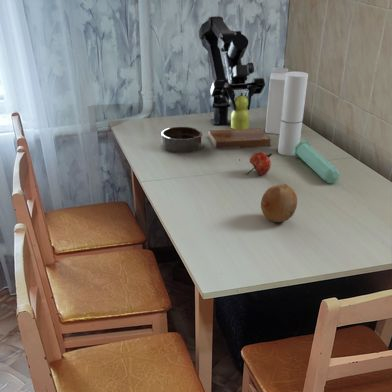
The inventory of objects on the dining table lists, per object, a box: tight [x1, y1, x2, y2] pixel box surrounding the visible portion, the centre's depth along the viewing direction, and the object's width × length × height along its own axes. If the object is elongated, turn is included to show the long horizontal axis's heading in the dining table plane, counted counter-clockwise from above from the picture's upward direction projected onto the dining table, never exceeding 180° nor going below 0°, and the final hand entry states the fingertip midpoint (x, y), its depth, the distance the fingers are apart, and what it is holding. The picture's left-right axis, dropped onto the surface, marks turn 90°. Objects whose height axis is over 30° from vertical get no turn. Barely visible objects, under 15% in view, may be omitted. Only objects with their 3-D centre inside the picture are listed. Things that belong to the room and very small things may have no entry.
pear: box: [230, 92, 251, 130], centre depth 191 cm, size 7×7×12 cm
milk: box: [264, 67, 289, 135], centre depth 201 cm, size 6×6×22 cm
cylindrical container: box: [277, 71, 309, 157], centre depth 182 cm, size 7×7×25 cm
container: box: [294, 140, 340, 184], centre depth 175 cm, size 6×6×25 cm
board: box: [207, 127, 272, 149], centre depth 198 cm, size 13×20×2 cm, turn 101°
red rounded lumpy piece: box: [245, 151, 273, 176], centre depth 172 cm, size 7×7×10 cm
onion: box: [260, 183, 298, 223], centre depth 145 cm, size 10×10×10 cm
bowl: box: [160, 126, 203, 154], centre depth 192 cm, size 14×14×5 cm
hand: (241, 110), depth 190 cm, fingers closed on pear, 5 cm apart
